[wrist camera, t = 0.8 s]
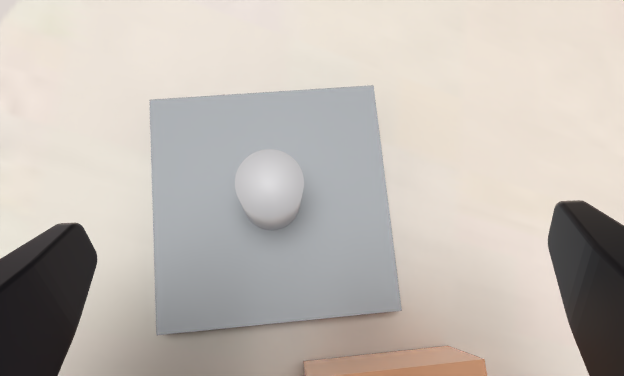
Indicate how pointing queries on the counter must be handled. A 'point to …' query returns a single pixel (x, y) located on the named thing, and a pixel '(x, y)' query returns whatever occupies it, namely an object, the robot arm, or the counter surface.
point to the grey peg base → (269, 209)
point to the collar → (401, 364)
